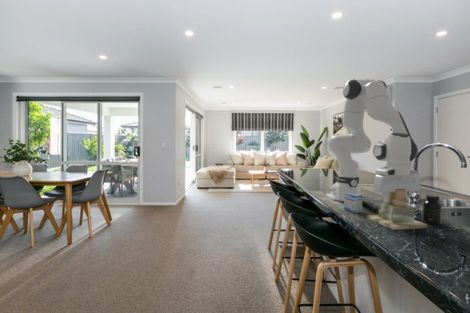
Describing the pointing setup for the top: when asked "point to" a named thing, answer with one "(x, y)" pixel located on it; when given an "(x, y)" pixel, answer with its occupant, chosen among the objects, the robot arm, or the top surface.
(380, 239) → the top surface
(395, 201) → the peg
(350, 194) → the medicine box
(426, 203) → the supplement bottle
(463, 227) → the top surface
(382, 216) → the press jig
